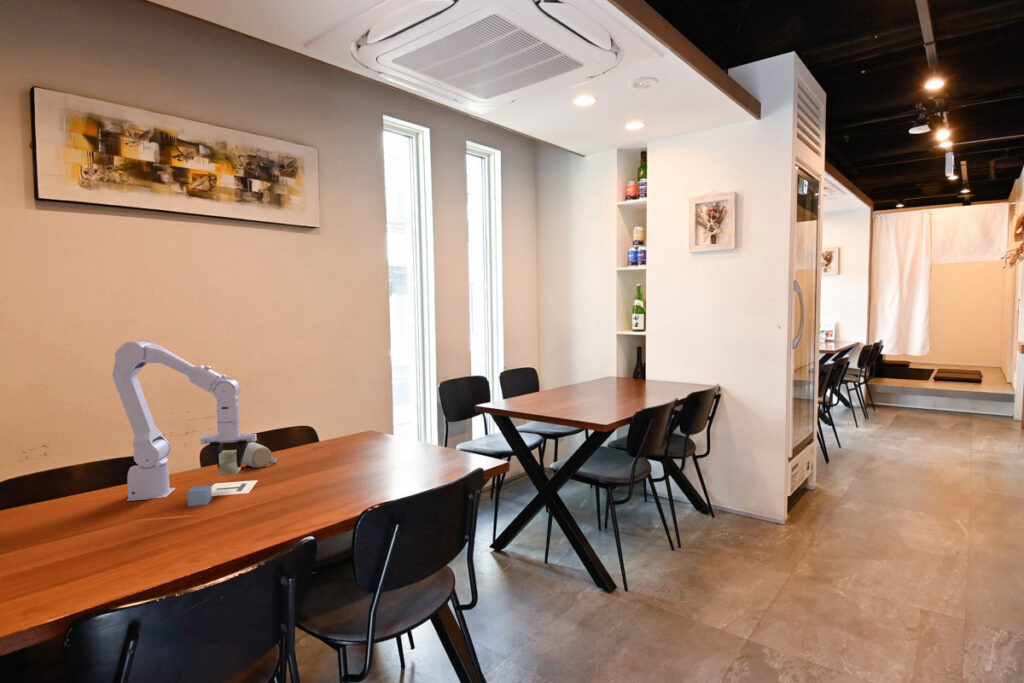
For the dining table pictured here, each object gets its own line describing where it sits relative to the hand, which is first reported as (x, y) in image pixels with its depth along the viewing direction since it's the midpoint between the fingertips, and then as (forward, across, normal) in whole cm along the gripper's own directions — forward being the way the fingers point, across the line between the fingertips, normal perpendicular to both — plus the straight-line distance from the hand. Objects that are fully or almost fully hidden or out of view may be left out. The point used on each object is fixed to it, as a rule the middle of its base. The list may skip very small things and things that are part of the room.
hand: (230, 466), depth 162 cm
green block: (+2, 0, 0) cm, 2 cm away
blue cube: (+7, +5, +11) cm, 14 cm away
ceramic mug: (+7, -3, -25) cm, 26 cm away
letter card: (+7, 0, 0) cm, 7 cm away
